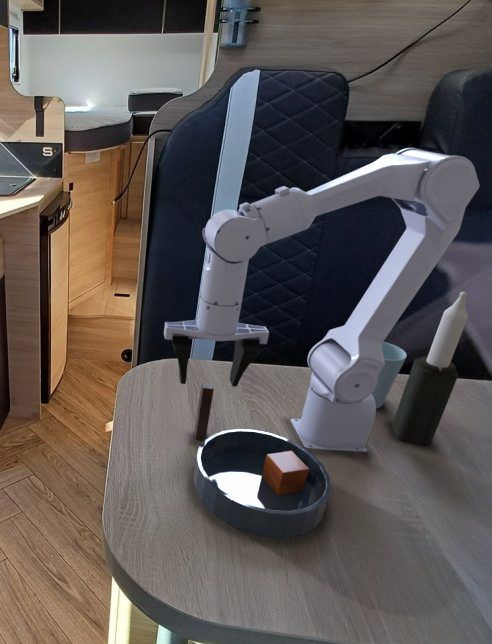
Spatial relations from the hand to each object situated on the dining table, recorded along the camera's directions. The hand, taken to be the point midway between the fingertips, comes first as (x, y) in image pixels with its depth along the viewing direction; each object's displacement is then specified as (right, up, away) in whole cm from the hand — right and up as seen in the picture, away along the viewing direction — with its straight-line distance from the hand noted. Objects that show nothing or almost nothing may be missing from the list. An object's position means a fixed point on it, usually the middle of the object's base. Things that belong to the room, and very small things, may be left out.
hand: (207, 381), depth 79 cm
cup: (+33, -5, +15) cm, 37 cm away
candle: (+35, -9, +6) cm, 37 cm away
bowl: (+5, -15, -7) cm, 17 cm away
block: (+9, -14, -6) cm, 18 cm away
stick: (0, -10, +4) cm, 10 cm away
